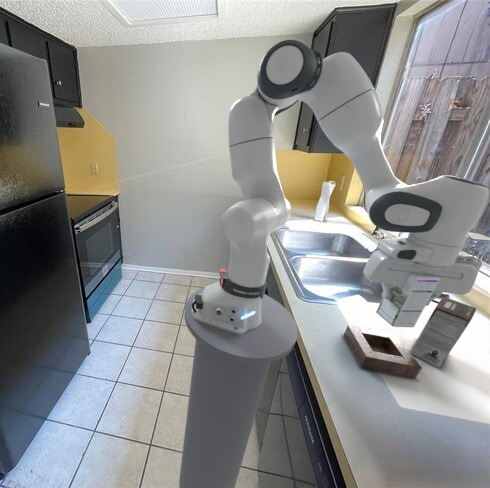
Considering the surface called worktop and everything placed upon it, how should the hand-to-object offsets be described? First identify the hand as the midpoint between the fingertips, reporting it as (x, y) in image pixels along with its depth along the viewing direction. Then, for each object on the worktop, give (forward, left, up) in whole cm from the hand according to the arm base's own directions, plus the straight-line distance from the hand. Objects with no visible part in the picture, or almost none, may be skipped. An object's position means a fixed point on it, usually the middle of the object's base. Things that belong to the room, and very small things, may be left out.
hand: (403, 300), depth 64 cm
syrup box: (0, 0, -6) cm, 6 cm away
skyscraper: (+20, +130, -18) cm, 133 cm away
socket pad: (0, 0, -18) cm, 18 cm away
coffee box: (+15, +5, -18) cm, 24 cm away
